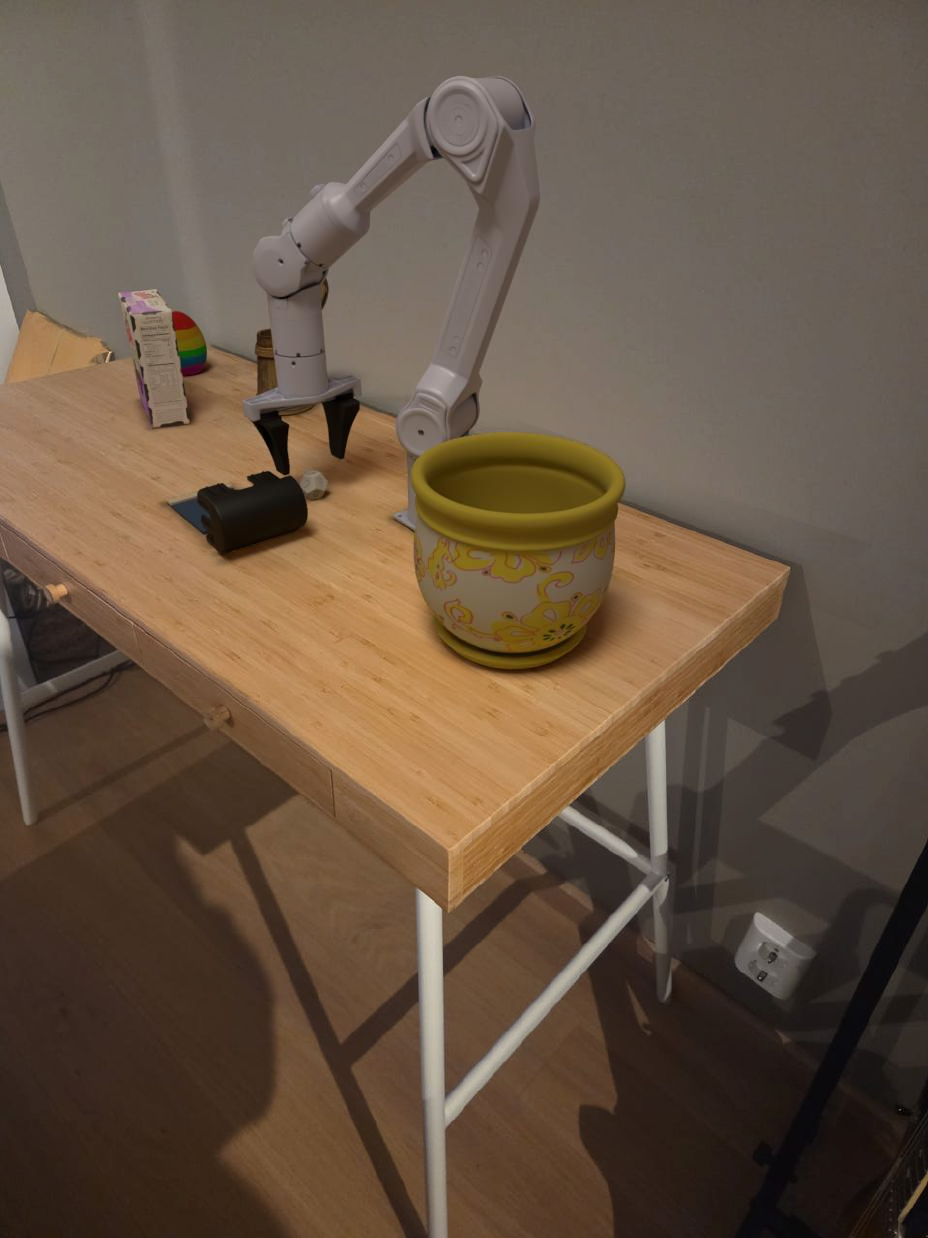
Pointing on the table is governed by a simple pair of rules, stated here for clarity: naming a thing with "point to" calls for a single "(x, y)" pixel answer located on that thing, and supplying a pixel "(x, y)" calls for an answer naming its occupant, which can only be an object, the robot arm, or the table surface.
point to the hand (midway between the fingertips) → (311, 464)
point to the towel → (190, 509)
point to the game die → (313, 484)
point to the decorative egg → (189, 344)
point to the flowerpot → (514, 543)
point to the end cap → (252, 511)
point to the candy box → (155, 357)
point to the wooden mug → (267, 361)
